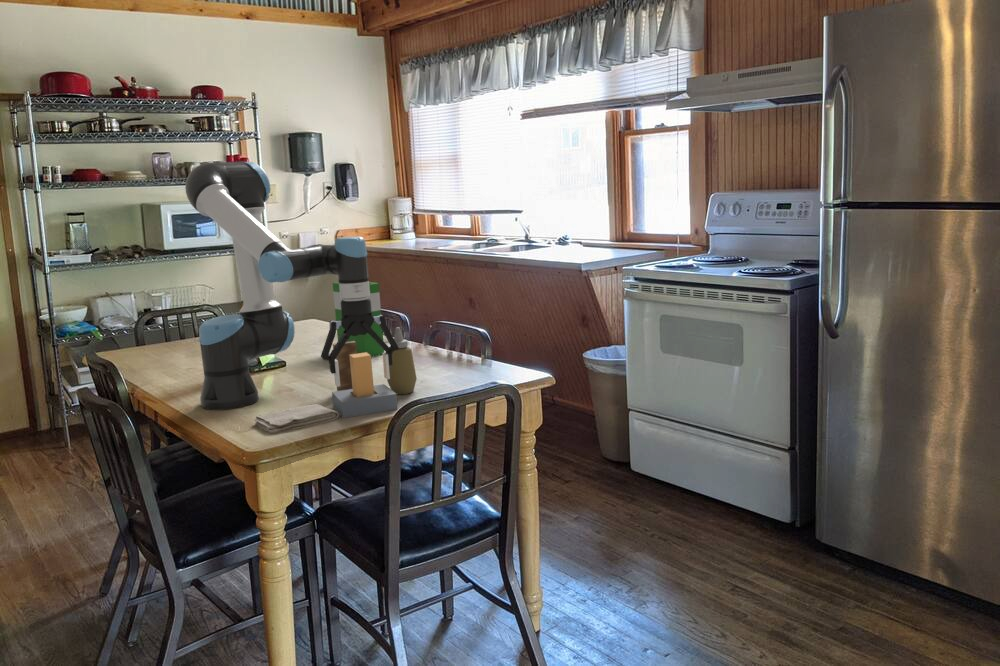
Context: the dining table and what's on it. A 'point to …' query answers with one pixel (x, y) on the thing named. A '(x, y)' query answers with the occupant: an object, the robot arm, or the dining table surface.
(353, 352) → the brown wooden block
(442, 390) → the dining table surface
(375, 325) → the green cereal box
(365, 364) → the square peg
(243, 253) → the robot arm
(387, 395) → the socket block
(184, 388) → the dining table surface
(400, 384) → the squeeze bottle
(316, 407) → the washcloth
